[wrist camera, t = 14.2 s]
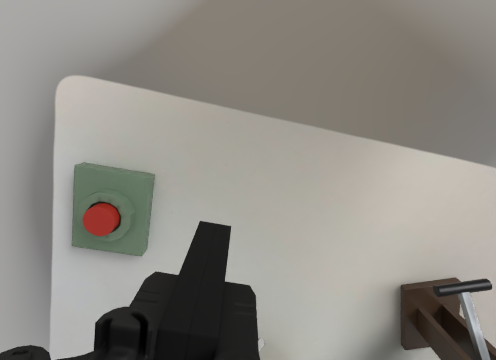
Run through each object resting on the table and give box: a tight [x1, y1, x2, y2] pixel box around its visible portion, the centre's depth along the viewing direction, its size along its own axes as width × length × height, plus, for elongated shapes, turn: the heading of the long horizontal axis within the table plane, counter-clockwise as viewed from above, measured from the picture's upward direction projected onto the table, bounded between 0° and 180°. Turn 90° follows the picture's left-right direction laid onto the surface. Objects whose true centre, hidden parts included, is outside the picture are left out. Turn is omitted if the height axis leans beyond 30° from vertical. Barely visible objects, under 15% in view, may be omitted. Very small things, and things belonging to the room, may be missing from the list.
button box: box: [72, 163, 155, 256], centre depth 39 cm, size 12×10×4 cm
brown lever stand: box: [401, 278, 496, 360], centre depth 40 cm, size 12×9×14 cm
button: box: [83, 203, 120, 236], centre depth 36 cm, size 4×4×2 cm
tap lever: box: [433, 279, 492, 360], centre depth 36 cm, size 13×7×2 cm, turn 8°
